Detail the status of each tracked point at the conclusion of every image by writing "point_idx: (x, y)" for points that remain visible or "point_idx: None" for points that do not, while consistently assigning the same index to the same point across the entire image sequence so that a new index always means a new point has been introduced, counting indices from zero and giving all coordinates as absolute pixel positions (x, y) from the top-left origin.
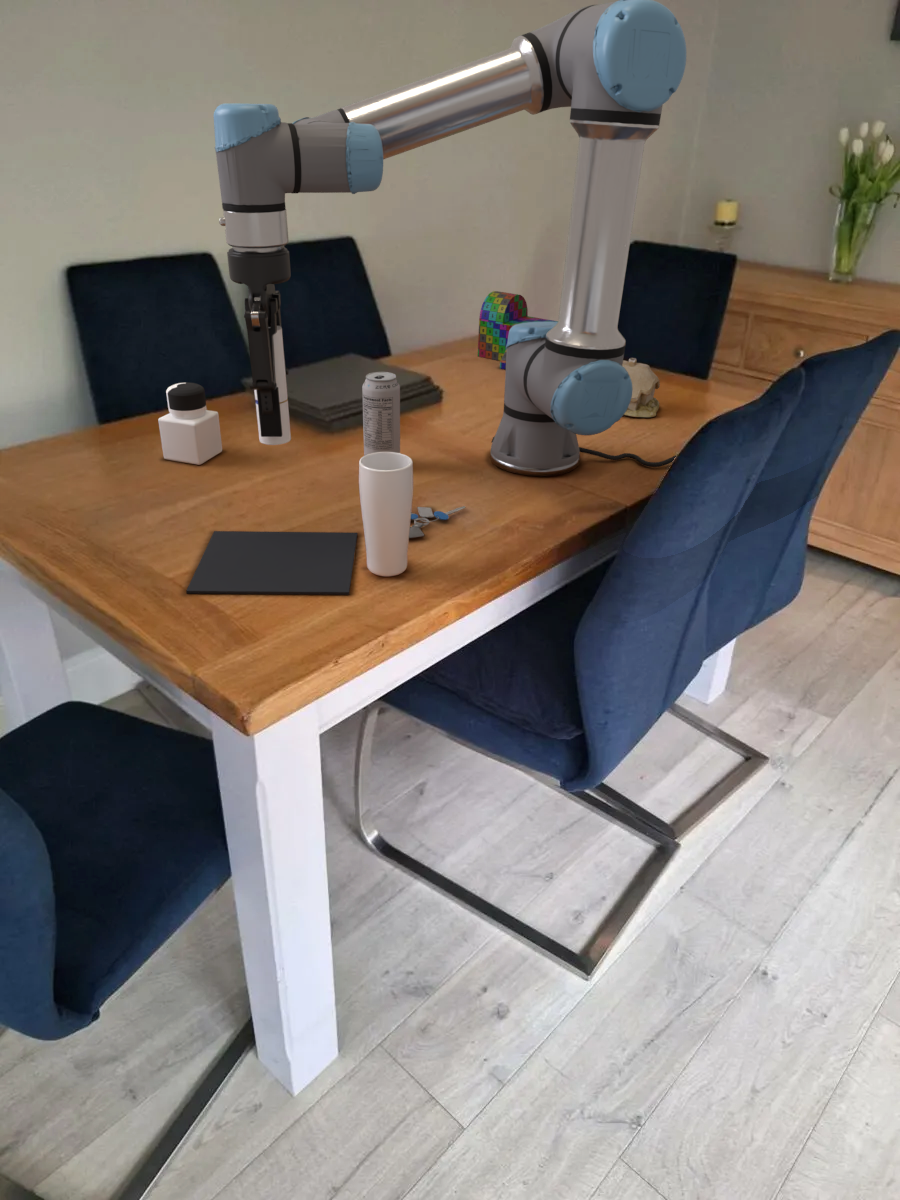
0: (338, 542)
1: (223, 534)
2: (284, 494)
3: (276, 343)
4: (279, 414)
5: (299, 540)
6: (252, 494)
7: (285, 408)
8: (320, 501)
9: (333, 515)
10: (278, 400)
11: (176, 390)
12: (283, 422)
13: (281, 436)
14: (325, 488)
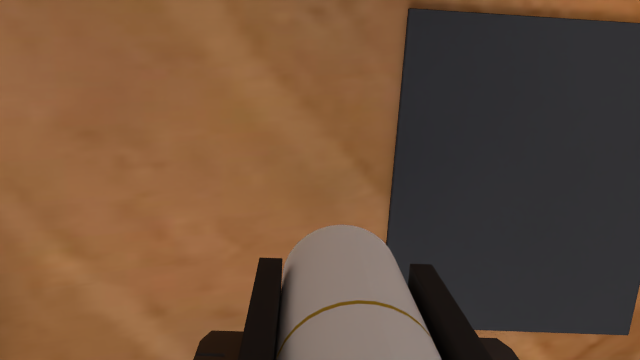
0: (459, 55)
1: None
2: (163, 200)
3: None
4: (459, 310)
5: (440, 146)
6: (166, 273)
7: (396, 293)
8: (204, 108)
9: (290, 72)
10: (482, 350)
11: None
12: (398, 276)
13: (431, 264)
14: (117, 98)
